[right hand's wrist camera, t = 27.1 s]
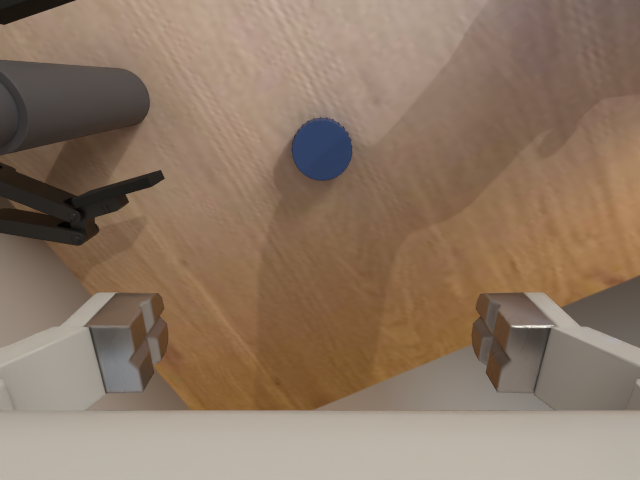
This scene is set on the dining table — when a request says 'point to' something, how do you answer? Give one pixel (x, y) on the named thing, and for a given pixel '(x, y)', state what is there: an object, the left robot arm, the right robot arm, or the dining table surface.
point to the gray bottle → (65, 102)
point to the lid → (322, 149)
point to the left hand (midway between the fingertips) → (118, 90)
